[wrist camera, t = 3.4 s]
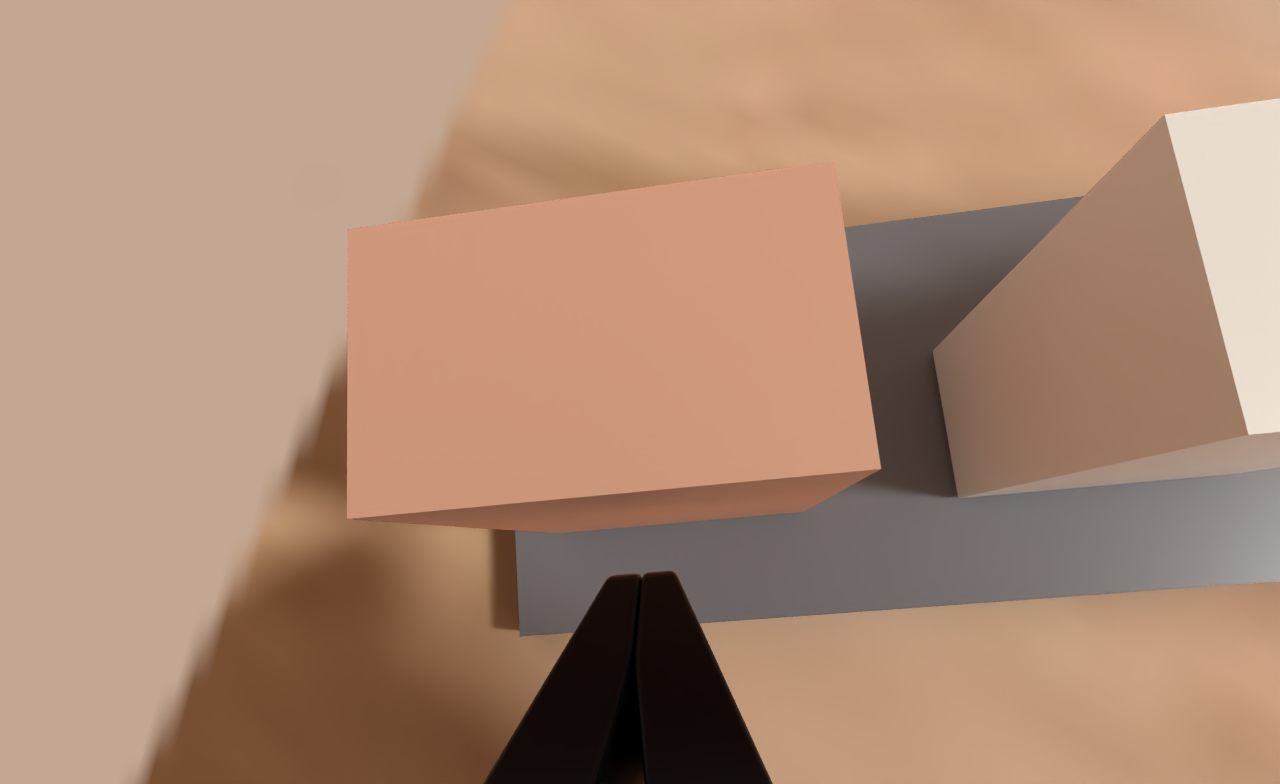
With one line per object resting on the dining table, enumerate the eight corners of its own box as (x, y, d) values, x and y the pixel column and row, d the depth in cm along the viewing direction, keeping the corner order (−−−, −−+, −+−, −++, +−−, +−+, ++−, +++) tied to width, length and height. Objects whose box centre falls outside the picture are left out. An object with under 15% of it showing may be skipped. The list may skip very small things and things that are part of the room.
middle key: (1233, 473, 14) (1958, 368, 6) (958, 498, 14) (1248, 435, 6) (1195, 321, 14) (1793, 26, 6) (932, 350, 15) (1164, 114, 7)
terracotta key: (802, 511, 15) (880, 469, 7) (559, 533, 15) (346, 519, 7) (784, 367, 15) (835, 160, 7) (550, 392, 16) (347, 229, 8)
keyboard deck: (1760, 541, 13) (1825, 541, 13) (530, 631, 16) (519, 636, 15) (1602, 144, 15) (1648, 122, 14) (514, 284, 18) (503, 272, 17)
